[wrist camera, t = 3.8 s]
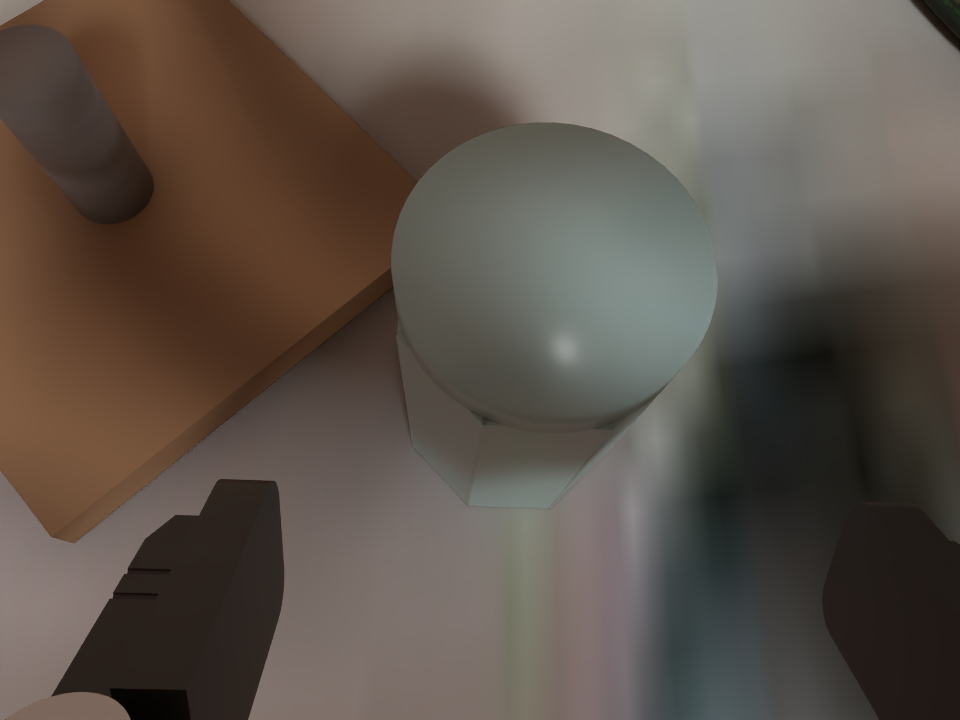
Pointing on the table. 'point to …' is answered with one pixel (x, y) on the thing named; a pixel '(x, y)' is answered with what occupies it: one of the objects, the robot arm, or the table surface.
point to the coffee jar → (947, 13)
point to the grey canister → (543, 305)
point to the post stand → (165, 238)
